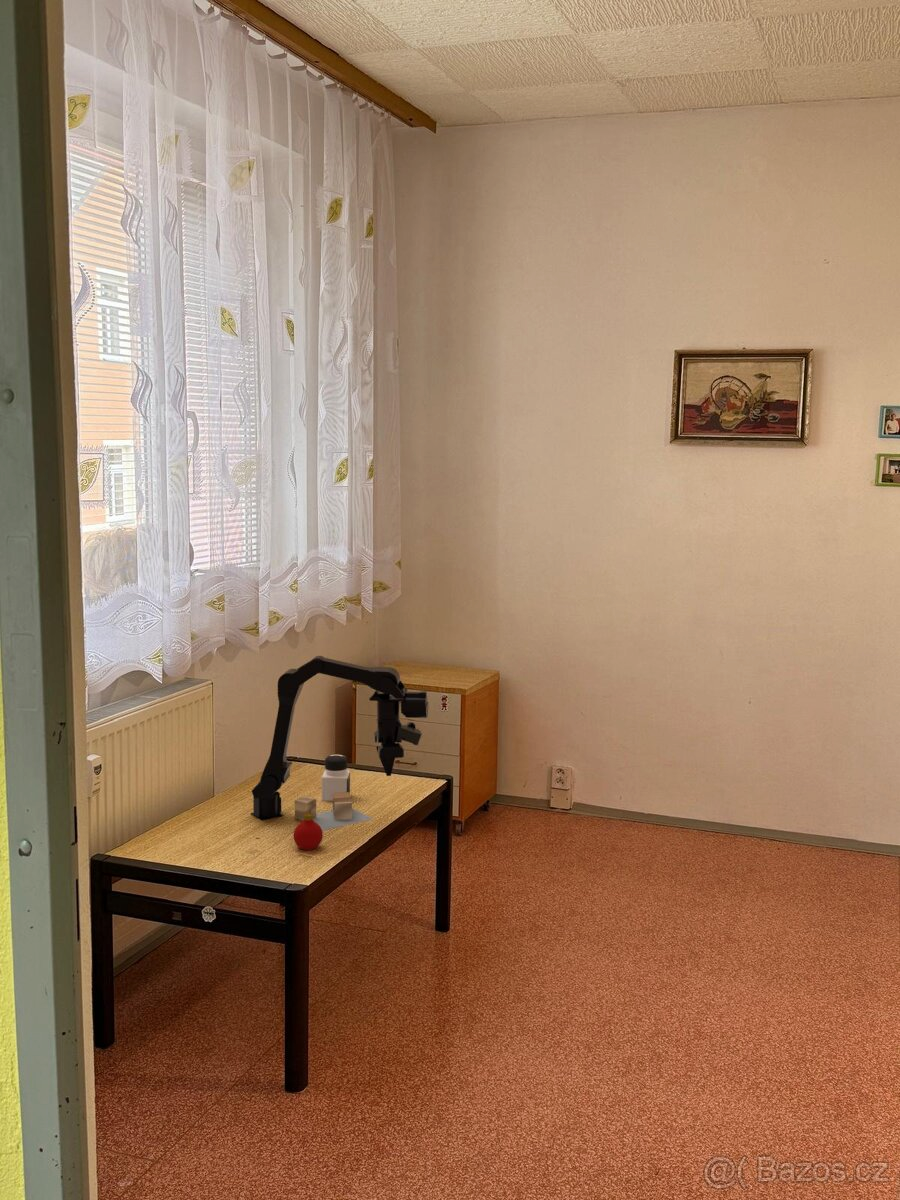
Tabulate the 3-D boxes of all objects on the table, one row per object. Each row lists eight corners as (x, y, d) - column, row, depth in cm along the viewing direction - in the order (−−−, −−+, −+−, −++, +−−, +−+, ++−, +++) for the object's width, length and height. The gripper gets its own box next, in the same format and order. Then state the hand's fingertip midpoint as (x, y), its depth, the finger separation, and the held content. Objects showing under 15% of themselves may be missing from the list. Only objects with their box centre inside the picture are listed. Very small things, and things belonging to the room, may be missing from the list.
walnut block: (351, 802, 297) (349, 792, 306) (334, 803, 297) (332, 792, 305) (351, 819, 298) (349, 808, 307) (334, 819, 297) (332, 808, 306)
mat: (321, 832, 289) (321, 830, 289) (297, 819, 298) (297, 818, 298) (373, 820, 299) (373, 818, 299) (347, 808, 308) (348, 806, 308)
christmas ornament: (308, 856, 272) (308, 816, 271) (287, 850, 276) (287, 810, 275) (328, 848, 278) (328, 809, 276) (307, 842, 282) (307, 803, 281)
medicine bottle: (347, 802, 313) (347, 760, 311) (321, 802, 313) (321, 759, 311) (350, 794, 320) (350, 753, 318) (324, 794, 320) (324, 752, 318)
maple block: (306, 821, 296) (306, 802, 295) (294, 818, 298) (294, 800, 297) (316, 817, 299) (316, 798, 298) (304, 814, 301) (304, 796, 300)
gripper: (423, 724, 286) (423, 785, 288) (415, 707, 304) (415, 764, 306) (379, 726, 284) (379, 786, 286) (373, 709, 302) (374, 766, 305)
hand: (388, 775), depth 296 cm, fingers closed
